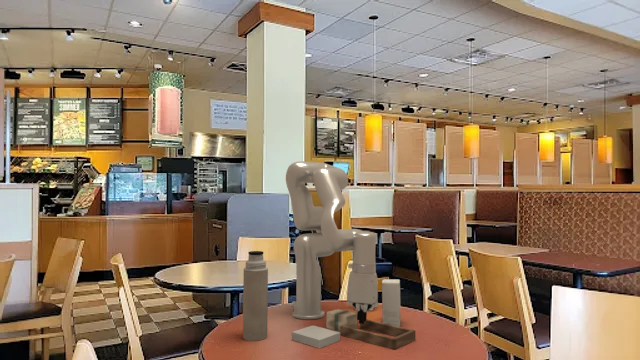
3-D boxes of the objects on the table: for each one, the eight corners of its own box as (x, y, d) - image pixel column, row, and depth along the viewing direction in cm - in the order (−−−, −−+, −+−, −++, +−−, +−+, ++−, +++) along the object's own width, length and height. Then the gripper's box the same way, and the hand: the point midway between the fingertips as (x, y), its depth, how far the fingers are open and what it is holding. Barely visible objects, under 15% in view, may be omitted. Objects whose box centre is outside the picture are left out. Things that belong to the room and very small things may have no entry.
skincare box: (400, 327, 156) (400, 283, 157) (381, 326, 157) (381, 282, 158) (400, 321, 164) (400, 278, 165) (382, 320, 166) (382, 278, 166)
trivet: (291, 339, 143) (291, 331, 143) (312, 332, 150) (312, 325, 150) (319, 348, 135) (319, 340, 135) (340, 340, 142) (340, 332, 142)
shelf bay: (340, 335, 148) (340, 325, 148) (362, 326, 157) (362, 318, 157) (394, 349, 134) (394, 339, 134) (415, 339, 143) (415, 330, 143)
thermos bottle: (250, 332, 150) (250, 249, 151) (271, 334, 148) (272, 250, 149) (238, 339, 143) (239, 252, 144) (260, 342, 140) (261, 253, 141)
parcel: (326, 328, 156) (326, 312, 156) (337, 324, 160) (337, 308, 160) (346, 333, 150) (346, 316, 150) (357, 329, 154) (357, 313, 154)
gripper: (339, 268, 148) (337, 323, 148) (384, 272, 144) (382, 328, 144) (344, 264, 155) (342, 316, 155) (386, 268, 151) (385, 321, 152)
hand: (361, 322), depth 150 cm, fingers closed
